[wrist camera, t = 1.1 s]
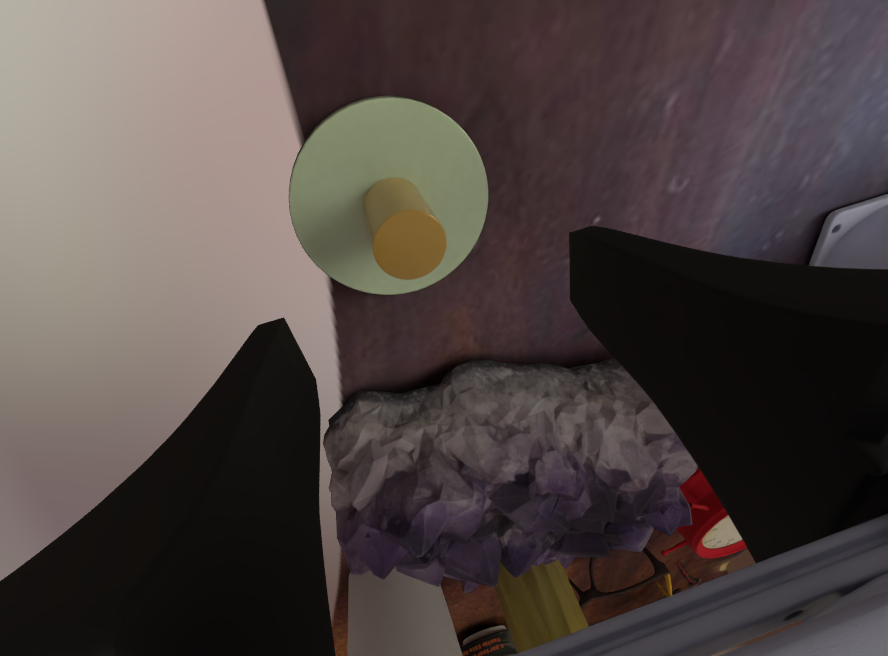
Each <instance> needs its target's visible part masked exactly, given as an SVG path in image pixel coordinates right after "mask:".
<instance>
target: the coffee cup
mask: <svg viewBox="0 0 888 656" xmlns="http://www.w3.org/2000/svg"><path fill="white" fill-rule="evenodd" d="M347 656H463V655H462V652H461V649H460V646H459V642H458V639H457V636H456V633H455V630H454V626H453V623H452V620H451V617H450V614H449V611H448V607H447V604H446V601H445V598H444V595H443V591H442V588H441V585H440V586H439V587H437V586H434V585H431V584H428V583H425V582H423V581H420V580H418V579H415V578H412V577H410V576H407V575H404V574H402V573H400V572H398V571H397V570H396V567H395V568H394V569H393V570H392V571H391V572H390V574H389V575H388V576H387V577H386V578H385V579H384V580H383V579H381V578H379V577H377V576H375V575H374V574H373V573H372V571H371V570H370V571H368V572H366V573H364V574H363V575H351V572H350V574H349V590H348V655H347Z"/></svg>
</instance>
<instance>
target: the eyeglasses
mask: <svg viewBox="0 0 888 656" xmlns="http://www.w3.org/2000/svg"><path fill="white" fill-rule="evenodd" d="M612 549H613V548H612ZM609 550H611V549H609ZM643 552H644V553H645V554H646V555H647V556H648V558H649V559H650V561H651V562H652V564H653V566H654V570H655V573H654V575H653V576H651V577H650V578H648V579H646V580H644V581H642V582H640V583H638V584H636V585H633V586H631V587H628V588H625V589H622V590H619V591H614V592H608V593H603V592H600V591H598V590H597V588H596V586H595V583H594V578H593V562H594V560H595V559H596V558H597V557H591V559H590V564H589V571H590V580H591V589H589V590H587V591H585V592H582V591H581V590H580V589H579V588H578V587H577V586H576V585H575V584H574V583H573V582H572V581H571V580H570V579H569V578H568V579H569V582H570V584H571V585H572V586H573V587H574V589H575V590H576V591H577V592H578V594H579V596H580V602H579V605H580V608H582V607H584V606H585V605H586V604H587V603H588V602H590V601H591V600H594V599H598V598H604V597H610V596H615V595H619V594H622V593H626V592H629V591H632V590H634V589H637V588H639V587H641V586H643V585H646V584H648V583H650V582H652V581H654V580H656V579H658V578H660V577H662V576H664V575H665V579H666V584H667V589H668V594H669V595H668V594H667V593H666V592H665V591H664V589H663V588H662V587H661V585H660V584H659V583H658V582H657V581H656V584H657V586H658V587H659V588H660V590H661V591H662V592H663V593H664V595H665V596H666V597H669V596H671V595H672V588H671V580H670V574H669V573H670V572H669V570H668V568H667V567H666V565H665V564H664V563H662V562H660V561H658V560H657V559H656V558H655V557H654V556H653V555H652V554H651V553H650V552H649V551H648V550H647V549H646V548H645V547H644V549H643Z"/></svg>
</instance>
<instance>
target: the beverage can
mask: <svg viewBox="0 0 888 656" xmlns="http://www.w3.org/2000/svg"><path fill="white" fill-rule="evenodd" d="M461 652H462V655H463V656H513V655H516V654H517V651H516V648H515V645H514V642H513V640H512V637H511V634H510V631H509V630H507V629H506V627H505V626H503V625H500V626H494V627H490V628H487V629H484V630H481V631H479V632H477V633H474V634H472V635H471V636H469V637H467V638H466V639H465V640H464V641H463V646H462V647H461Z"/></svg>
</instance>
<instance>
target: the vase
mask: <svg viewBox="0 0 888 656" xmlns="http://www.w3.org/2000/svg"><path fill="white" fill-rule="evenodd" d="M494 588H495V591H496V593H497V596H498V599H499V602H500V605H501V608H502V611H503V613H504V617H505V620H506V623H507V625H508V628H509V631H510V634H511V637H512V640H513V642H514V645H515V648H516V651H517V654H518V653H521V652H524V651H526V650H529V649H532V648H534V647H537V646H540V645H542V644H545V643H547V642H550V641H553V640H555V639H558V638H561V637H563V636H566V635H569V634H571V633H574V632H576V631H579V630H582V629H584V628H587V627H589V626H588V624H587V621H586V619H585V617H584V615H583V613H582V610H581V608H580V605H579V603H578V601H577V598H576V596H575V594H574V592H573V589H572V587H571V584H570V582H569V579H568V577H567V574H566V572H565V569H564V567H563V566H562V565H561V563H560V562H559V560H557V561H555V562H552V563H549V564H547V565H544V564H539V565H538V566H531V568H530V569H529V570H528V572H526V573H525V574H523V575H521V576H519V577H518V578H515V577H514V576H512V575H511V574H510V573H509V572H508V571H507V570H506V568H505V567H504V566H503V565H502V564H501V562H500V571H499V581H498V584H497V586H496V587H494Z"/></svg>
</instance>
